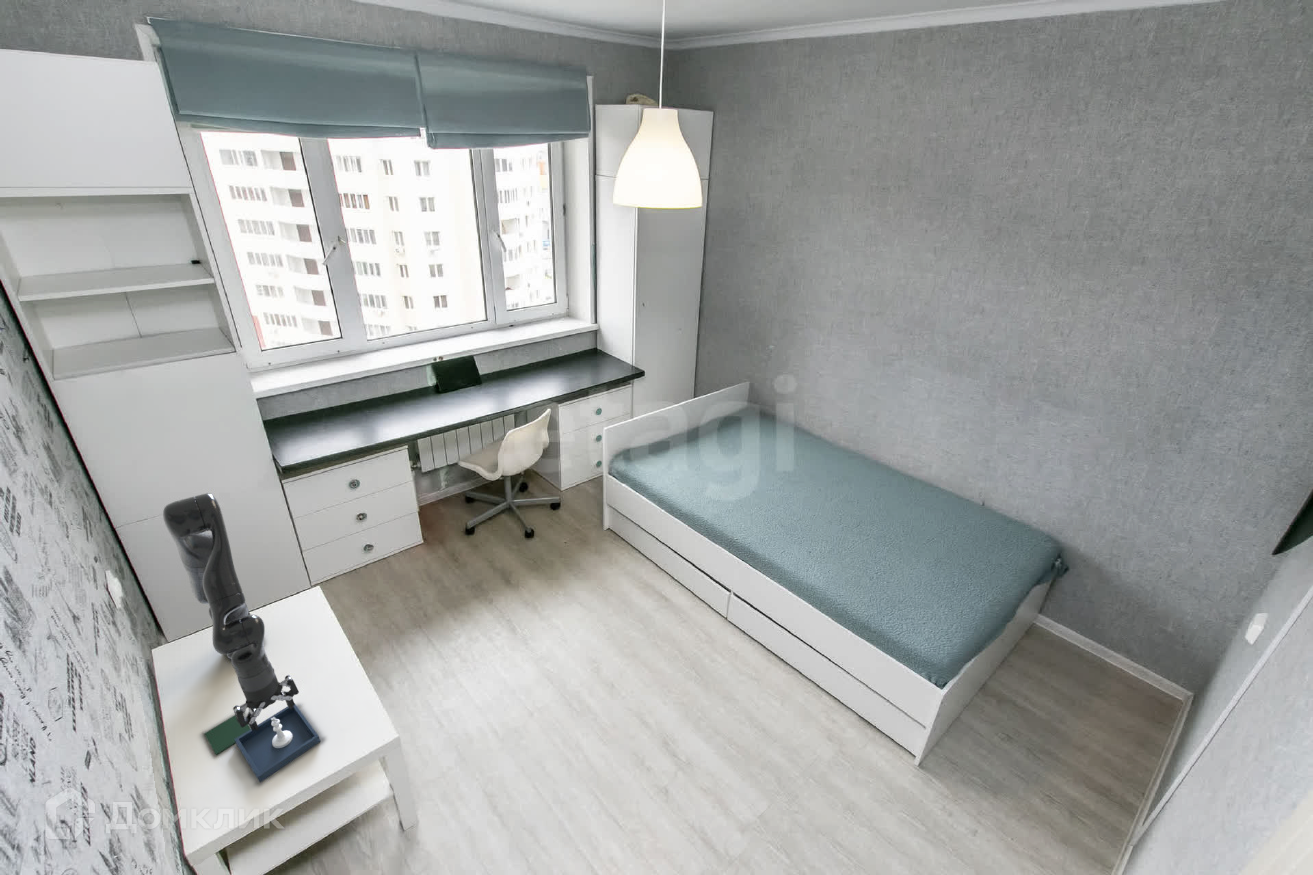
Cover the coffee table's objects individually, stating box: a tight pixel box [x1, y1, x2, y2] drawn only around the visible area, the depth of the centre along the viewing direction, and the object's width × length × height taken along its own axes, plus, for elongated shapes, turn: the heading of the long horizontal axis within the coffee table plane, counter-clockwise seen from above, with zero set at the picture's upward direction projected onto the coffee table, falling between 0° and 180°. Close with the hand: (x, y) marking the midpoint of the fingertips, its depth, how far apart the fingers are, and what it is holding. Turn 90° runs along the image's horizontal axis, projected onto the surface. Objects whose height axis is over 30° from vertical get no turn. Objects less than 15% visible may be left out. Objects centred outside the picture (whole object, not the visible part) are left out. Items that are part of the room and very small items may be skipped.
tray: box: [234, 703, 321, 783], centre depth 165 cm, size 16×16×2 cm
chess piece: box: [271, 717, 293, 748], centre depth 164 cm, size 5×5×10 cm
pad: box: [203, 715, 251, 756], centre depth 167 cm, size 9×9×1 cm
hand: (273, 717), depth 161 cm, fingers open, 8 cm apart
